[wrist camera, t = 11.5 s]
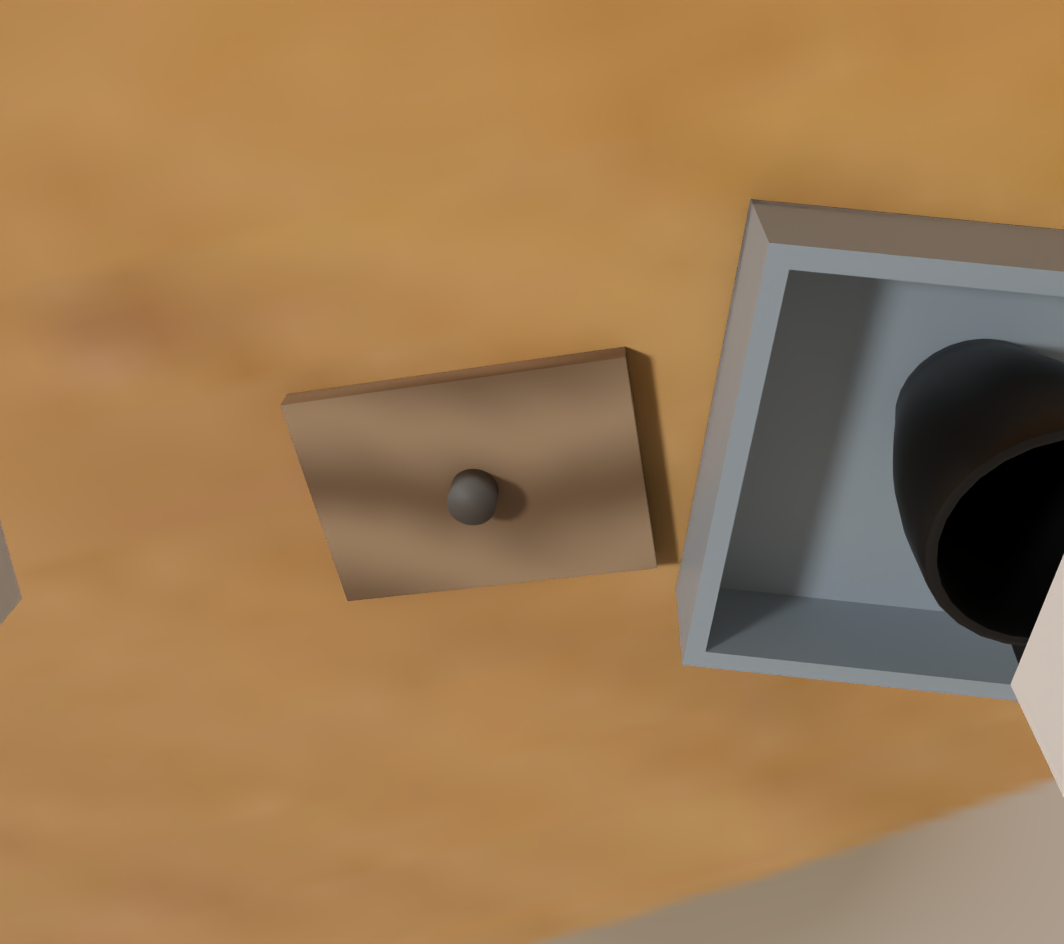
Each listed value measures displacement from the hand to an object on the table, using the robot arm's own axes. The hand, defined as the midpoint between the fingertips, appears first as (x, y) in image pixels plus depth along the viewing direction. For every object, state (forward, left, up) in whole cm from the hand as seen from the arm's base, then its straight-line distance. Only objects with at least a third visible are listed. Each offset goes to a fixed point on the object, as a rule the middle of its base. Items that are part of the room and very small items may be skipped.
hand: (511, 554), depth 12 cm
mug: (+11, +17, -26) cm, 33 cm away
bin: (+11, +16, -26) cm, 33 cm away
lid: (+15, -3, -26) cm, 30 cm away
